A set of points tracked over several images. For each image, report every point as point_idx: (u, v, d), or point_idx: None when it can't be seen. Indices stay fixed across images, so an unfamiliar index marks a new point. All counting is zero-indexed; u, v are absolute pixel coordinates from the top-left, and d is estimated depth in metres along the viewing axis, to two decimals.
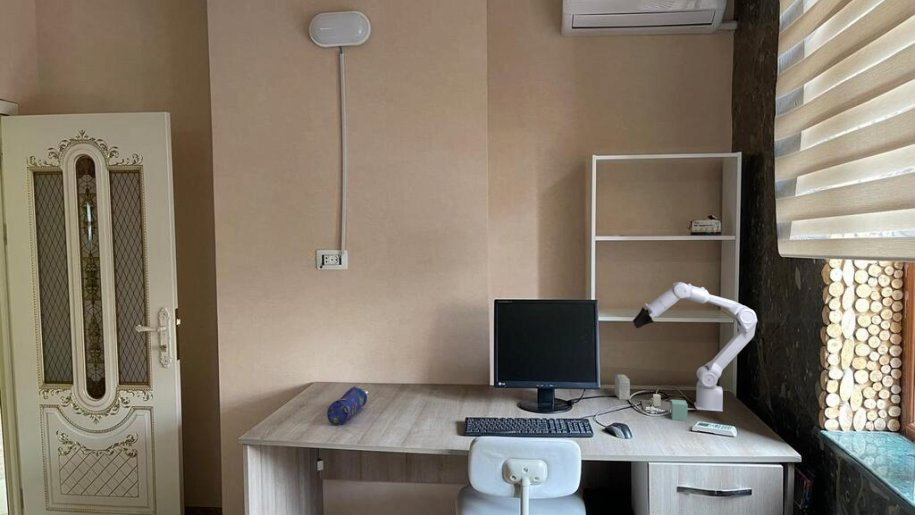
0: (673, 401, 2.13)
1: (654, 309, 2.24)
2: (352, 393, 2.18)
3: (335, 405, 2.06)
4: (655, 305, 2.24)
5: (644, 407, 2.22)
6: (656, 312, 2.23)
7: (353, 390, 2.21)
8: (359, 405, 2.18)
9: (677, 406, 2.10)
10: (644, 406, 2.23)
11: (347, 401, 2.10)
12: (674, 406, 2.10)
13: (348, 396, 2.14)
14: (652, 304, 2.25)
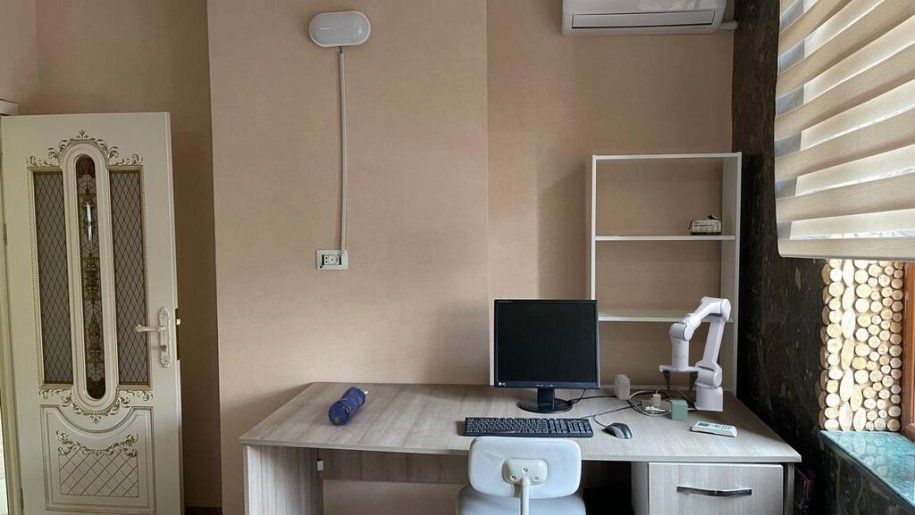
0: (673, 401, 2.13)
1: None
2: (351, 393, 2.18)
3: (336, 405, 2.06)
4: (687, 362, 2.09)
5: (644, 407, 2.22)
6: None
7: (352, 390, 2.21)
8: (358, 405, 2.18)
9: (677, 406, 2.10)
10: (644, 406, 2.23)
11: (348, 401, 2.10)
12: (674, 406, 2.10)
13: (348, 396, 2.14)
14: (685, 365, 2.08)
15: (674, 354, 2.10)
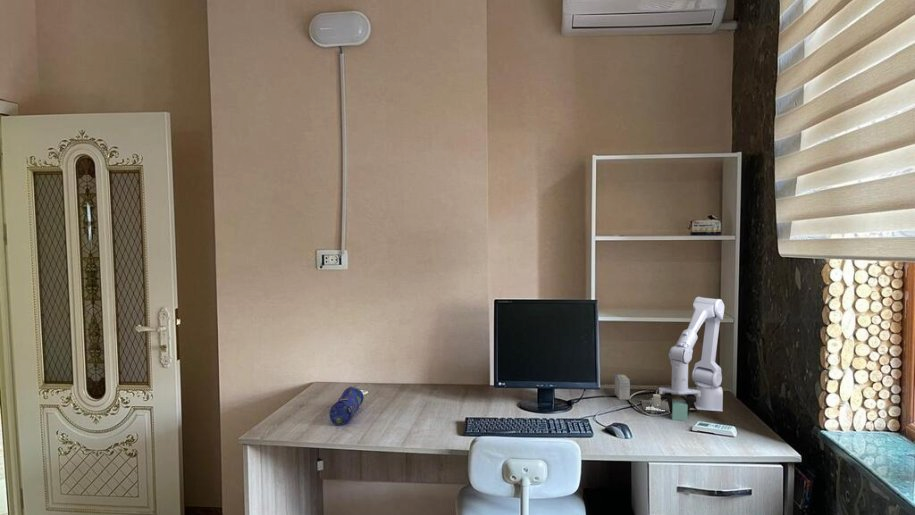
0: (673, 401, 2.13)
1: (687, 388, 2.10)
2: (351, 393, 2.18)
3: (338, 405, 2.06)
4: (687, 385, 2.09)
5: (644, 407, 2.22)
6: None
7: (350, 390, 2.21)
8: (358, 404, 2.19)
9: (677, 406, 2.10)
10: (644, 406, 2.23)
11: (349, 401, 2.10)
12: (674, 406, 2.10)
13: (348, 396, 2.14)
14: (684, 387, 2.09)
15: (674, 377, 2.10)
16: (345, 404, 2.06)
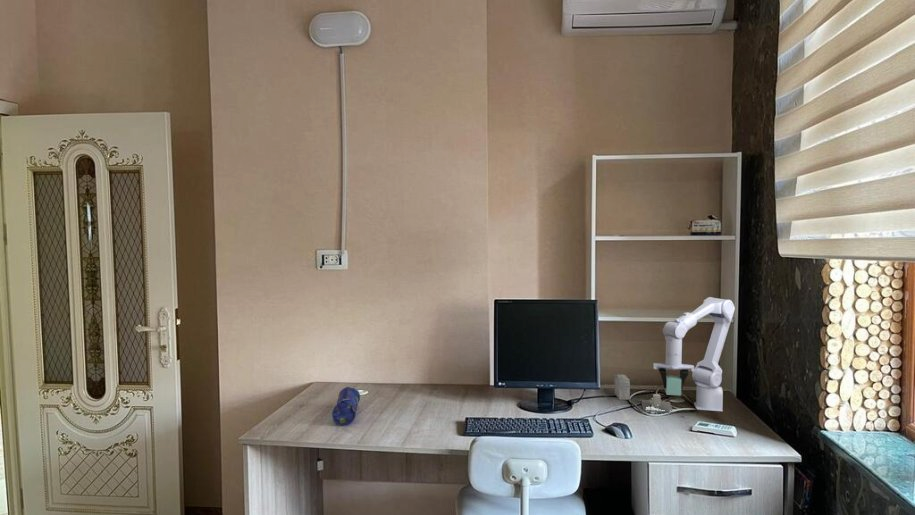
0: (667, 376, 2.16)
1: None
2: (349, 393, 2.18)
3: (341, 405, 2.06)
4: (680, 360, 2.12)
5: (644, 407, 2.22)
6: None
7: (348, 390, 2.21)
8: (356, 404, 2.19)
9: (671, 381, 2.13)
10: (644, 406, 2.23)
11: (351, 400, 2.10)
12: (668, 381, 2.13)
13: (348, 396, 2.14)
14: (678, 362, 2.12)
15: (667, 352, 2.14)
16: (348, 404, 2.06)
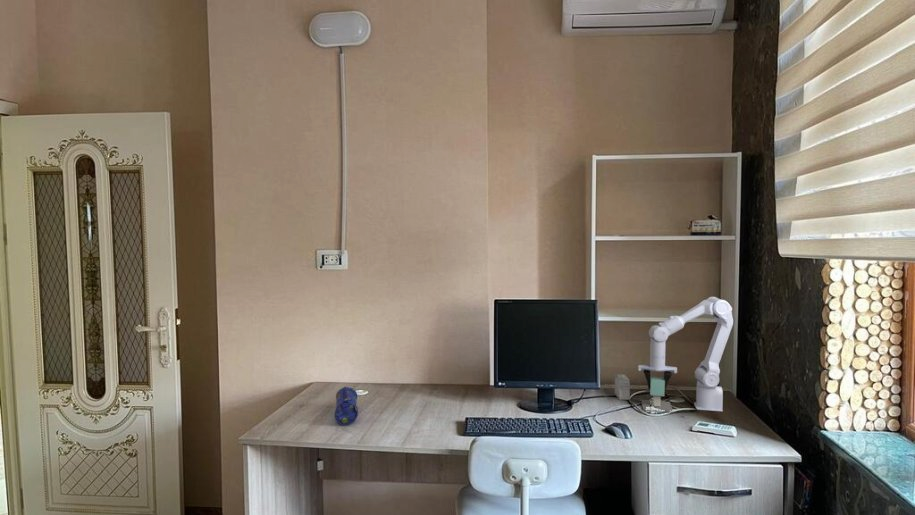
0: (651, 378, 2.25)
1: (664, 365, 2.22)
2: (348, 393, 2.18)
3: (344, 405, 2.06)
4: (664, 362, 2.21)
5: (644, 407, 2.22)
6: None
7: (346, 390, 2.21)
8: None
9: (655, 382, 2.22)
10: (644, 406, 2.23)
11: (352, 400, 2.10)
12: (652, 382, 2.22)
13: (349, 396, 2.14)
14: (662, 364, 2.21)
15: (650, 353, 2.24)
16: (351, 403, 2.07)
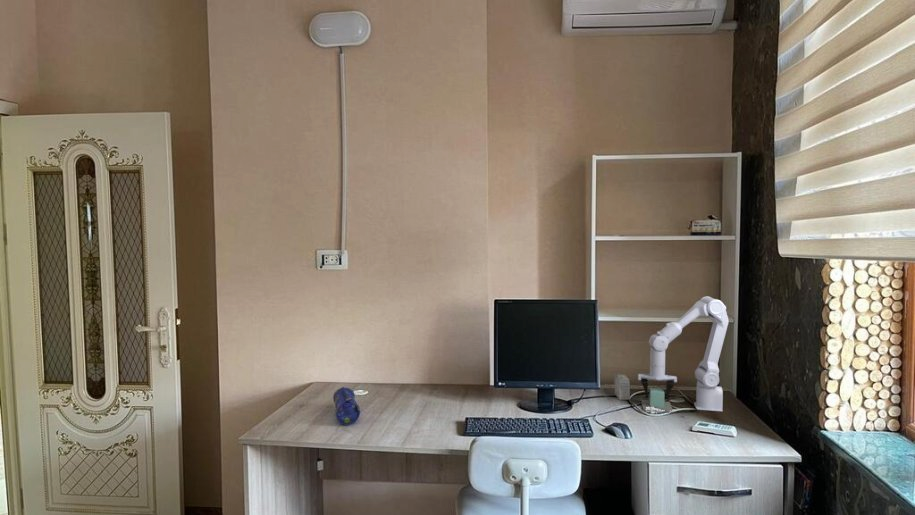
0: (651, 389, 2.25)
1: (664, 374, 2.23)
2: (347, 393, 2.18)
3: (346, 405, 2.06)
4: (664, 371, 2.22)
5: (644, 407, 2.22)
6: None
7: (345, 390, 2.21)
8: None
9: (655, 394, 2.22)
10: (644, 406, 2.23)
11: (353, 400, 2.11)
12: (652, 394, 2.22)
13: (349, 396, 2.14)
14: (662, 373, 2.21)
15: (650, 362, 2.24)
16: (353, 403, 2.07)
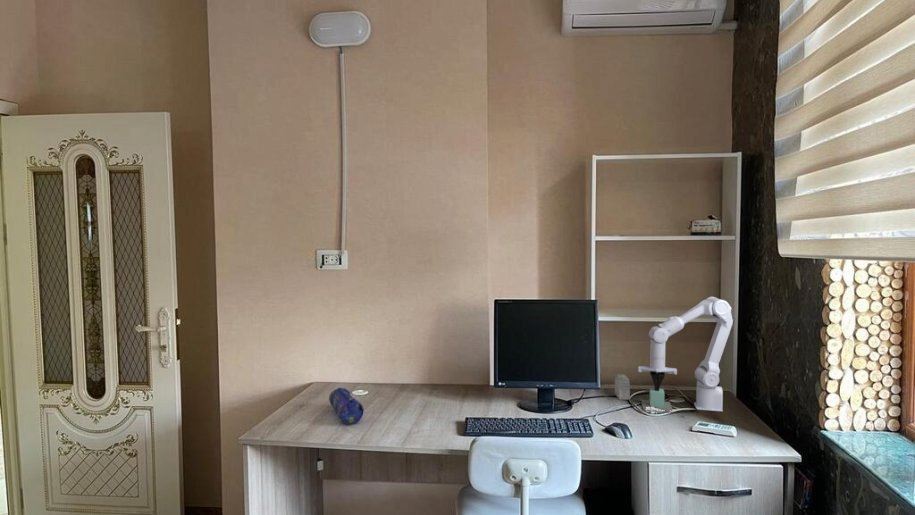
0: (651, 389, 2.25)
1: (664, 366, 2.22)
2: (346, 393, 2.18)
3: (350, 404, 2.06)
4: (664, 363, 2.21)
5: (644, 407, 2.22)
6: None
7: (342, 390, 2.21)
8: None
9: (655, 394, 2.22)
10: (644, 406, 2.23)
11: (355, 399, 2.11)
12: (652, 394, 2.22)
13: (349, 395, 2.14)
14: (662, 365, 2.21)
15: (650, 354, 2.24)
16: (356, 402, 2.08)
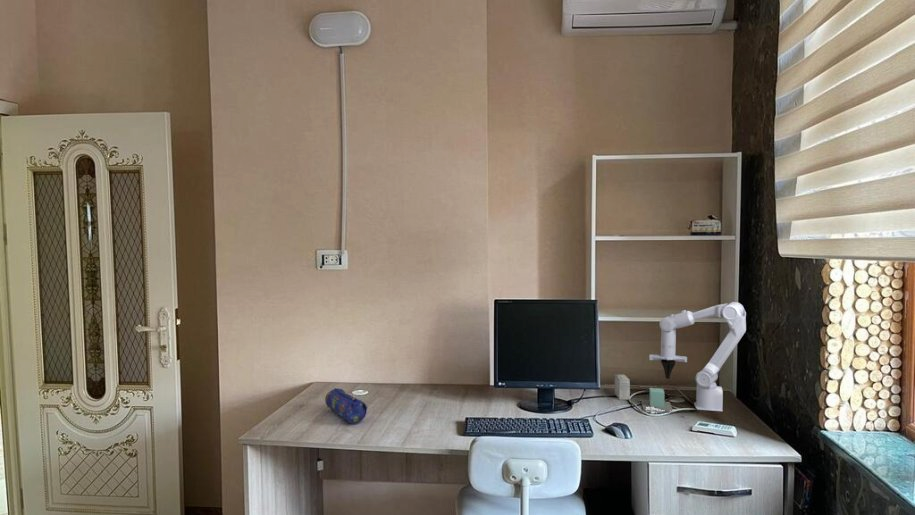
0: (651, 389, 2.25)
1: None
2: (344, 393, 2.18)
3: (354, 404, 2.07)
4: (674, 352, 2.30)
5: (644, 407, 2.22)
6: None
7: (339, 391, 2.20)
8: None
9: (655, 394, 2.22)
10: (644, 406, 2.23)
11: (357, 399, 2.12)
12: (652, 394, 2.22)
13: (349, 395, 2.15)
14: (672, 354, 2.29)
15: None
16: (360, 401, 2.09)
